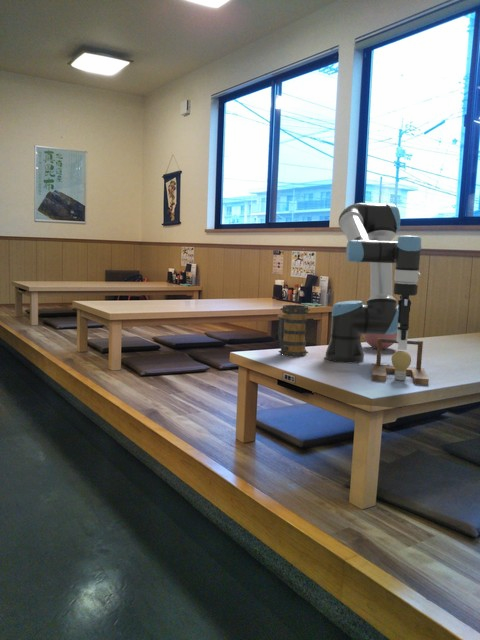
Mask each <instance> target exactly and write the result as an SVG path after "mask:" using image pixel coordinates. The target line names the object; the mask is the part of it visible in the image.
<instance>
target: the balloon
mask: <svg viewBox="0 0 480 640" xmlns="http://www.w3.org/2000/svg"><path fill="white" fill-rule="evenodd" d="M362 336H363V338H364V340H365V342H366V343H367V344H368V346H370V347H372V348H375V349H377V344H378V338H382V339H390V340H397V332H396V333H395V334H385V335H383V334H363V335H362ZM394 344H395V343H385V342H382V350H383V349H387V348H389V347H392V346H393V345H394Z"/></svg>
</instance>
